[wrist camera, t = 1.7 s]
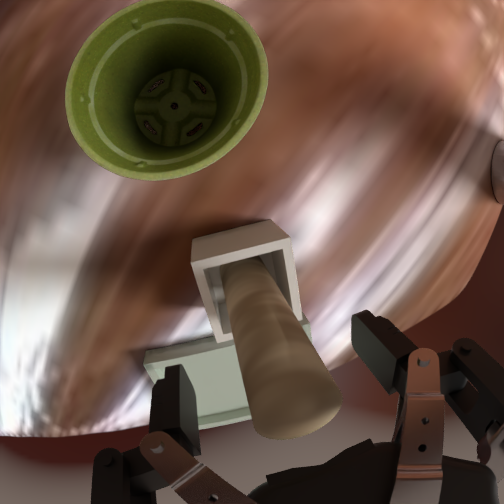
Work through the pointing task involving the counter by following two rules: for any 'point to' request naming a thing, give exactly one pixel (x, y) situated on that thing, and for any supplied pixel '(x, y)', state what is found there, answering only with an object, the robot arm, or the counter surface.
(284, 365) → the dowel
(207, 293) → the white open box
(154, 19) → the plant pot
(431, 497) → the robot arm
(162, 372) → the tray
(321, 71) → the counter surface
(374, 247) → the counter surface
